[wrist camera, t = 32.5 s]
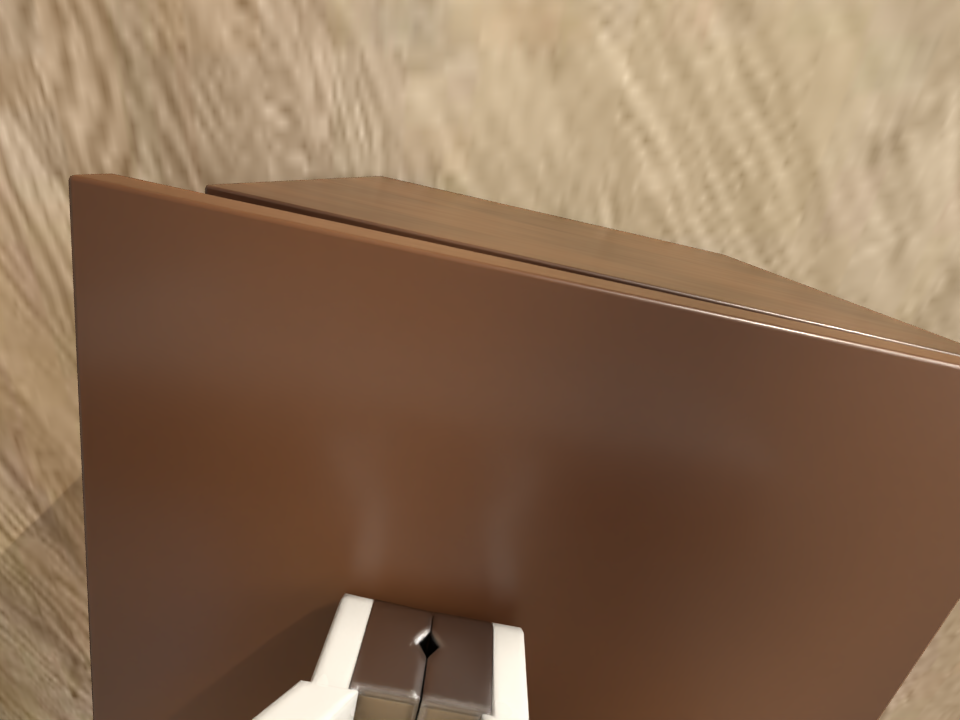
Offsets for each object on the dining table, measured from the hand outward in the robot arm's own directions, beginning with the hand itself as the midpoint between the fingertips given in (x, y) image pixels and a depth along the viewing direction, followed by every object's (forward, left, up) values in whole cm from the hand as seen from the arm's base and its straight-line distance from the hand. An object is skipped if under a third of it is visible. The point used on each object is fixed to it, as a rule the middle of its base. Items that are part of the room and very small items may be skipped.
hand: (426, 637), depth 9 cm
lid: (0, +2, -1) cm, 2 cm away
